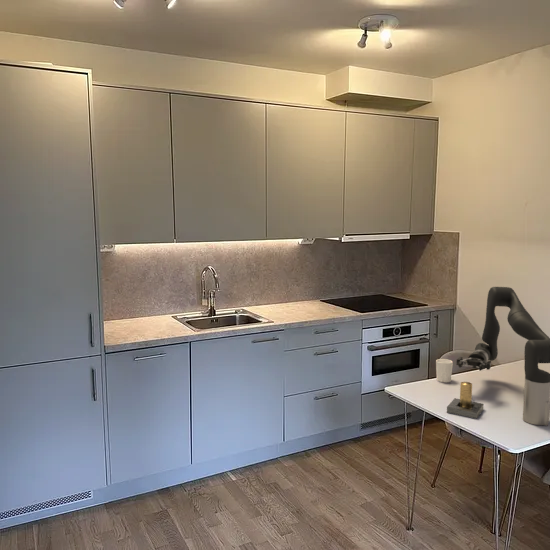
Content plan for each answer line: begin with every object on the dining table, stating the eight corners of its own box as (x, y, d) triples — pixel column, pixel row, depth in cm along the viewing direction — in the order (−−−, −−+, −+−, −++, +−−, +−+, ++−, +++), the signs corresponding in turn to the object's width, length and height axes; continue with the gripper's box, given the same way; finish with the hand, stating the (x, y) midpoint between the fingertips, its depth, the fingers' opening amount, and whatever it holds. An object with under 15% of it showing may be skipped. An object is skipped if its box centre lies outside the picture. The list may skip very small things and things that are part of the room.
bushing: (472, 410, 212) (473, 383, 211) (469, 413, 208) (470, 386, 207) (461, 408, 215) (462, 381, 213) (458, 411, 211) (459, 384, 210)
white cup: (432, 379, 253) (432, 359, 252) (444, 377, 256) (445, 358, 255) (442, 383, 246) (443, 364, 245) (455, 381, 249) (456, 362, 247)
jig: (483, 409, 213) (483, 403, 213) (476, 418, 203) (476, 413, 203) (454, 403, 220) (454, 398, 219) (446, 412, 210) (446, 406, 210)
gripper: (463, 349, 239) (453, 356, 225) (494, 353, 231) (487, 361, 217) (462, 364, 239) (453, 372, 226) (494, 369, 231) (486, 377, 218)
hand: (469, 366), depth 222 cm, fingers open, 8 cm apart
